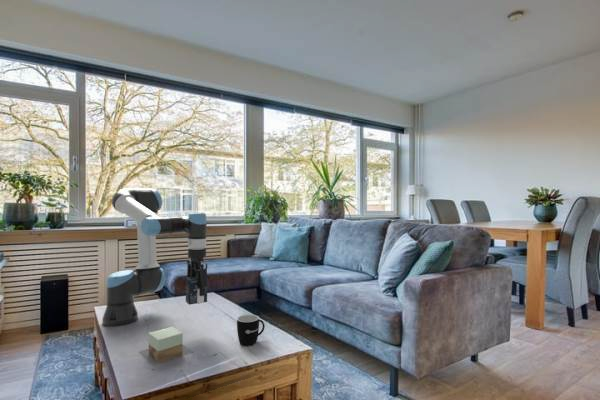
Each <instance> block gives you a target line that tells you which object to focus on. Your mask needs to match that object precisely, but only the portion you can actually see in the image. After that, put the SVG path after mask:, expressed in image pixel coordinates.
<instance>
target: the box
mask: <svg viewBox="0 0 600 400" xmlns="http://www.w3.org/2000/svg"><path fill="white" fill-rule="evenodd" d="M185 279H186V280H185V302H186V303H187V304H188V305H189V306H191V305H194V304H197V288H198V280H197V276H196V277H190V278H187V277H185ZM207 302H208V286H207V287H205V288H204V303H207Z"/></svg>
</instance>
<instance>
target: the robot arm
mask: <svg viewBox="0 0 600 400" xmlns="http://www.w3.org/2000/svg"><path fill="white" fill-rule="evenodd" d="M111 204H112V207H113V209H114V210H115V211H117V212H118V213H120V214H125V215H126V216H128V217H129V218H131V219H132V220H133V221H135V222H136V230H137V253H138V254H137V255H138V256H137V257H138V258H137V259H138V261H137V262H138V264H137V266H135V272H134V270H132V269H125V270H119V271H116V272H113V273H111V274H109V275H108V277H107V279H106V284H105V285H106V307H105V310H104V313H103V316H102V325H103V326H106V327H116V326H118V327H120V326H124V325H129V324H131V323H133V322H135V321H137V320H138V318H139V313H138V310H137V308H136V305H135V297H136V296H143V295H146V294H153V293H155V292H159V291H160V290H162V289H163V287H164V286H165V283H166V273H165V271H164V269H163V268H162V267H161V265H160V264H159V263H158V261H157V237H156V236H160V235H161V236H162V235H174V234H188V235H187V236H188V237H187V239H188V240H187V244H188V245H187V247H188V249H187V257H188V260H186V263H187V270H186V271H187V273H186V274H187V275H186V278H190V277H197V280H198V288H197V303H196V304H198V305H199V304H204V303H205V302H204V288H205V287H207V288H208V263H205V262H204V258H206V257H207V249H206V247H207V223H208V222H207V214H206V213H205V212H189V213H188V216H187V215H177V216H176V215H175V216H160V215H158V214H159V212H158V211H160V210H162V205H163V199H162V196H161V193H160V192H159V191H158V190H156V189H154V188H148V187H147V188H146V187H145V188H142V187H141V188H140V187H139V188H135V187H134V188H133V187H126V188H121V189H119V190H116V192H115V193H114V194H113V196H112V198H111Z"/></svg>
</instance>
